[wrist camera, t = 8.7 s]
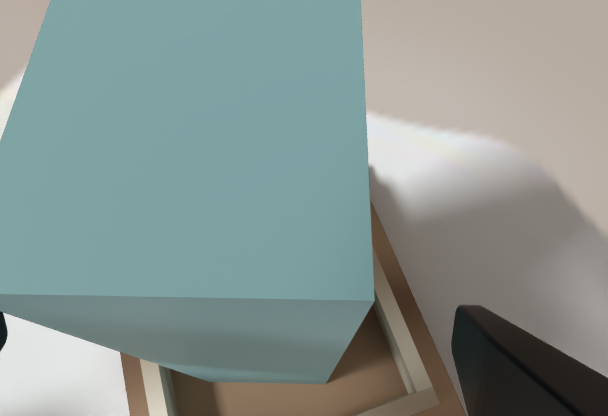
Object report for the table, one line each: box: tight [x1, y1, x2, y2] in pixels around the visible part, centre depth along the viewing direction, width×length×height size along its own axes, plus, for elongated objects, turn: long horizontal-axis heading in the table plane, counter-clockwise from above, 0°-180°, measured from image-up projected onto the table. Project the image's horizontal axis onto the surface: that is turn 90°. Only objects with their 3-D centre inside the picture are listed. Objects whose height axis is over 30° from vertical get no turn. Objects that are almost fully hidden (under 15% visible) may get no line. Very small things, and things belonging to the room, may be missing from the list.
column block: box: [0, 0, 375, 384], centre depth 12 cm, size 4×4×14 cm
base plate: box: [120, 200, 466, 416], centre depth 18 cm, size 12×12×2 cm
